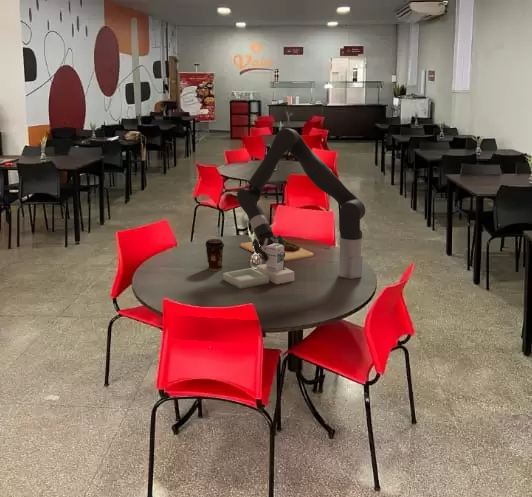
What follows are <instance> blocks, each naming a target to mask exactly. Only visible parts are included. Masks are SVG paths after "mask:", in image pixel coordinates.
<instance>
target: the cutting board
mask: <svg viewBox="0 0 532 497" xmlns="http://www.w3.org/2000/svg"><path fill="white" fill-rule="evenodd" d="M273 235H274V236H275V237H278V235H277V234H276V233H273ZM282 239H283V241H284V243H285V245H286V247H285V248H284V252H285V257H284V261H285V262H290V261H294V260H295V261H296V260H301V259H309V258H313V257H314V252H311V251H309V250H307V249H304V248H303V247H301V246H299V245H297V244H296V243H294V242H290V241H289V240H286V238H282ZM252 242H253V241H250V242H249V241H248V242H241V243H240V247H241V248H242V249H245V251H248V250H249V251H248V252H250V251H251V252H250V253H252V252H253V251H254V249H253V246H252ZM261 246H262V245H261ZM261 246H260V249H261ZM264 252H266V248H265V251H264ZM259 254H260V253H259ZM260 255H261V254H260ZM261 258H262V255H261Z"/></svg>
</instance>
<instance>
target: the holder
mask: <svg viewBox="0 0 532 497" xmlns="http://www.w3.org/2000/svg"><path fill="white" fill-rule="evenodd" d="M256 270H257V271H259V272H261V273H263V274H265V275H267V276H269V282H271V283H274V284H275V285H280V283H281V284H284V283H285V284H286V283H291V282H294V281H295V271H294V270H291V269H290V268H287V267H285V266H284V270H282V271H276V272H271V271H269V270H267V269H266V263H264V264H263V263H262V264H257V265H256Z"/></svg>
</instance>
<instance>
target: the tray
mask: <svg viewBox="0 0 532 497" xmlns="http://www.w3.org/2000/svg"><path fill="white" fill-rule="evenodd" d="M222 275H223V278H222V279H223V281H225V282H227V283H229V284H230V285H232V286H233V287H236V288H237V289H240V290H241V289H247V288H251V287H256V286H257V287H258V286H262V285H265V284H270V281H269V276H267V275H265V274H263V273H261V272H259V271H257V269H254V268H252V267H250V268H243V269H238V270H233V271H232V270H231V271H227V272H223V274H222Z"/></svg>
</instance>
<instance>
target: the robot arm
mask: <svg viewBox="0 0 532 497" xmlns="http://www.w3.org/2000/svg"><path fill="white" fill-rule="evenodd" d="M287 152H289V153H290V154H291V155H292V156H293V157H294V158H295V159H296V160H297V161H298V162H299V165H301V168H302V169H303V172H304V173H305V175H306V176H307V178H308V179H309V180H310V181H311V182H312V183H313V184H314V186H315V187H317V188H318V189H319V190H321V191H322V192H323V193H325V194H326V195H328V196H330V197H332V199H334V200H335V201H336V202H337V203H338V205H339V206H340V208H339V213H338V229H339V231H338V232H339V234H340V235H339V236H340V238H339V239H340V240H339V260H338V261H339V265H338V276H339V277H341V278H344V279H349V280H353V279H354V280H355V279H359V278H362V276H363V273H362V272H363V259H364V258H363V255H362V245H363V244H362V242H363V232H362V230H361V219H362V218H364V216H365V215H366V207H365V204H364V203H363V202H362V201H361V200H360V199H359V198H358V197H357V196H356V195H355V194H354V193H353V192H351V190H349V189H348V188H347V187H346V186H345V184H343V182H342V181H341V180H340V178H338V177H337V176H336V175H335V173H334V172H333V171H332V170H331V168H329V166H328V165H327V164H326V163H325V162H324V161H323V160H322V159H321V158H320V157H319V156H318V155H317V154H316V153H315V152H314V151H313V150H312V149H311V148H310V147H309V145H308V144H307V143H306V142H305V140H304V139H303V137H302V136H301V135H300V134H299V132H297V130H295V129H292V128H287V127H285V128H282V129H280V130H278V132H277V133H276V135H275V137H274V139H273V141H272V143H271V146H270V148H269V150H268V151H267V153H266V155H265V157H264V158H263V160H262V161H261V163H260V165H259V166H258V167H257V169H256V170H255V172H254V173H253V175H251V177H250V179H249V184H251V187H250V188H246V187H242V188H239V189H238V191H237V192H236V200H237V202H238V205H239V206H240V208H241V209H242V210H243V211H244V212H245V214H246V215H247V218H248V221H249V223H250V226H251V229H252V231H253V233H254V236H255V239H253V241H251V242H252V244H253V246H254V249H255V252H256V253H257V254H258V253H260V254H261V255H262V257H261V258H262V259H263V261H265V262H266V261H267V260H268V256H267V254H266V252H264V251H265V248H266V246H268V245H271V244H274V243H276V244H282V245H284V248H285V247H286V245H285V243H284V241H283V239H284V238H282V236H281V235H280V234H279V235H277V237H275V236H274V235H273V234H274V232H273V229H272V227H271V225H270V223H269V221H268V218H267V217H266V215H265V213H264V211H263V209H262V208H261V206H260V205H258V204H257V203H259V200H260V199H261V196H262V193H263V192H264V191H263V190H264V188H265V186H266V185H267V183H268V182H269V180H270V179H271V178H272V176H273V174H274V172H275V170H276V167H277V165H278V163H279V161H280V160H281V159H282V157H283V156H284V155H285V153H287ZM259 244H260V245H262V246H261V249H260V247H259ZM284 257H285V252H284Z"/></svg>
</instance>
